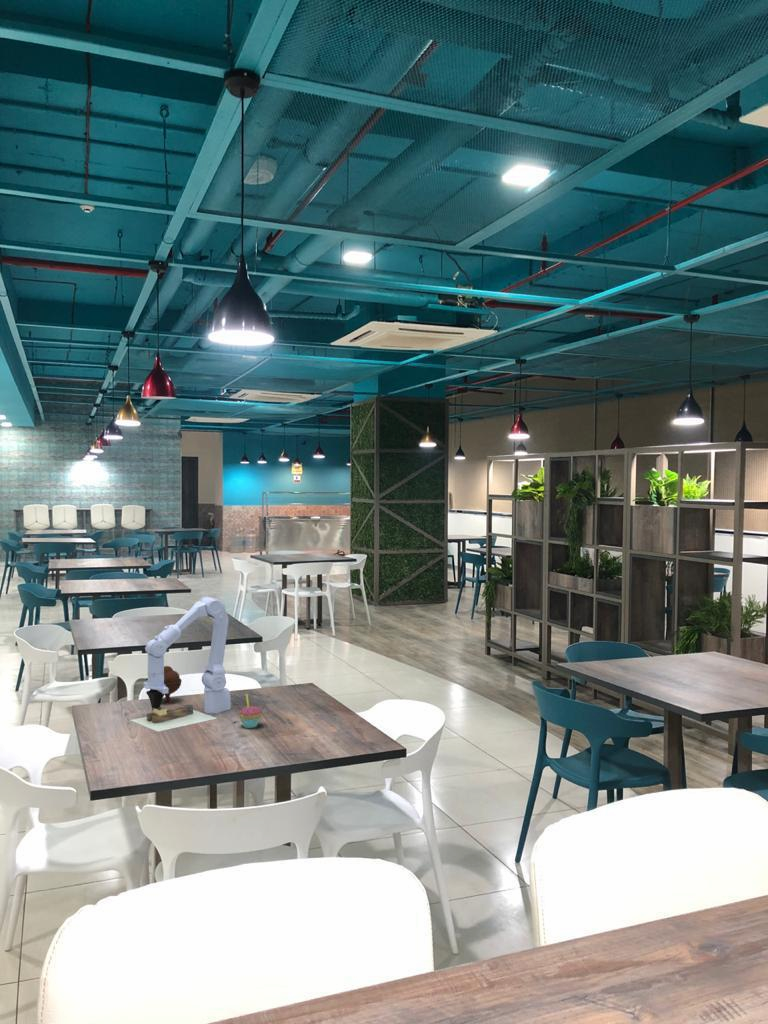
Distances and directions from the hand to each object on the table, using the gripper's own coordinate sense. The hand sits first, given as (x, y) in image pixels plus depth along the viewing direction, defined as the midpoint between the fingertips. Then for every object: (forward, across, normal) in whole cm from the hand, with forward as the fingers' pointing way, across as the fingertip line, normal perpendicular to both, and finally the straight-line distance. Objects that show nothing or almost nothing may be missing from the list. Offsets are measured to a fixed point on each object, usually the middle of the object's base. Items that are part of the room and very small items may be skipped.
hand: (156, 710), depth 295 cm
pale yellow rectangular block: (+1, +3, 0) cm, 3 cm away
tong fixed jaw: (+3, +1, +6) cm, 7 cm away
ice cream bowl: (+5, -20, +16) cm, 26 cm away
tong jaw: (+3, +3, +4) cm, 6 cm away
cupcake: (+5, +28, +22) cm, 36 cm away
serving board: (+4, +4, +5) cm, 8 cm away
